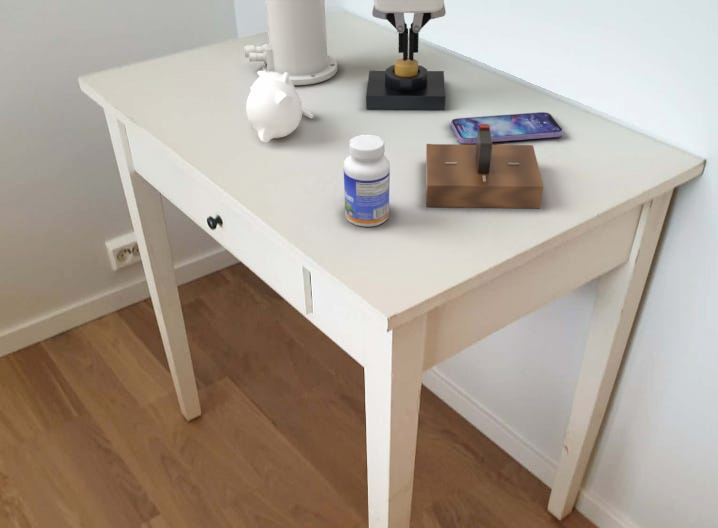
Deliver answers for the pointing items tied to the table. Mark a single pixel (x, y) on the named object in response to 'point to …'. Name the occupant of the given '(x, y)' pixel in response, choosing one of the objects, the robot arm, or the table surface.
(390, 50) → the table surface
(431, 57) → the table surface
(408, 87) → the black stepped base
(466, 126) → the smartphone
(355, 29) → the table surface
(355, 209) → the pill bottle
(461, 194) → the plate
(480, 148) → the lock knob
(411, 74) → the bell button
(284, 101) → the cat figurine
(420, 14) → the robot arm
